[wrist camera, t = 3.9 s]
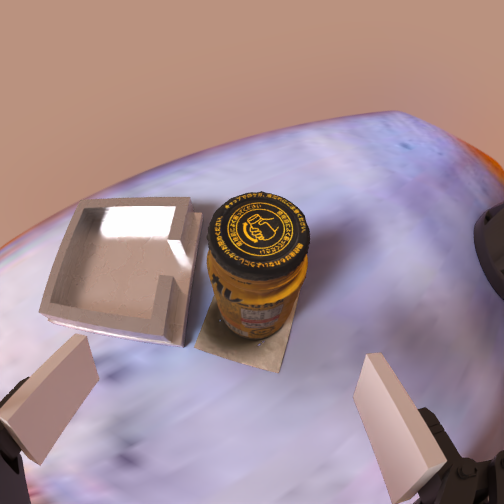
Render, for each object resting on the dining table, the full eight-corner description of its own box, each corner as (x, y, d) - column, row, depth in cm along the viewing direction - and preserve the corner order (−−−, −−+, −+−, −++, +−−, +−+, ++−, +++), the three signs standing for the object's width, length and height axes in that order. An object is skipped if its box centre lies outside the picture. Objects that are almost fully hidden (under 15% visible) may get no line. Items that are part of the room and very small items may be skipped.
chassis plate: (203, 218, 29) (198, 196, 26) (183, 347, 22) (173, 338, 19) (87, 217, 29) (75, 199, 26) (53, 323, 22) (33, 311, 19)
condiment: (301, 284, 25) (334, 195, 15) (278, 373, 21) (306, 345, 10) (226, 264, 26) (212, 168, 16) (194, 348, 22) (145, 296, 12)
